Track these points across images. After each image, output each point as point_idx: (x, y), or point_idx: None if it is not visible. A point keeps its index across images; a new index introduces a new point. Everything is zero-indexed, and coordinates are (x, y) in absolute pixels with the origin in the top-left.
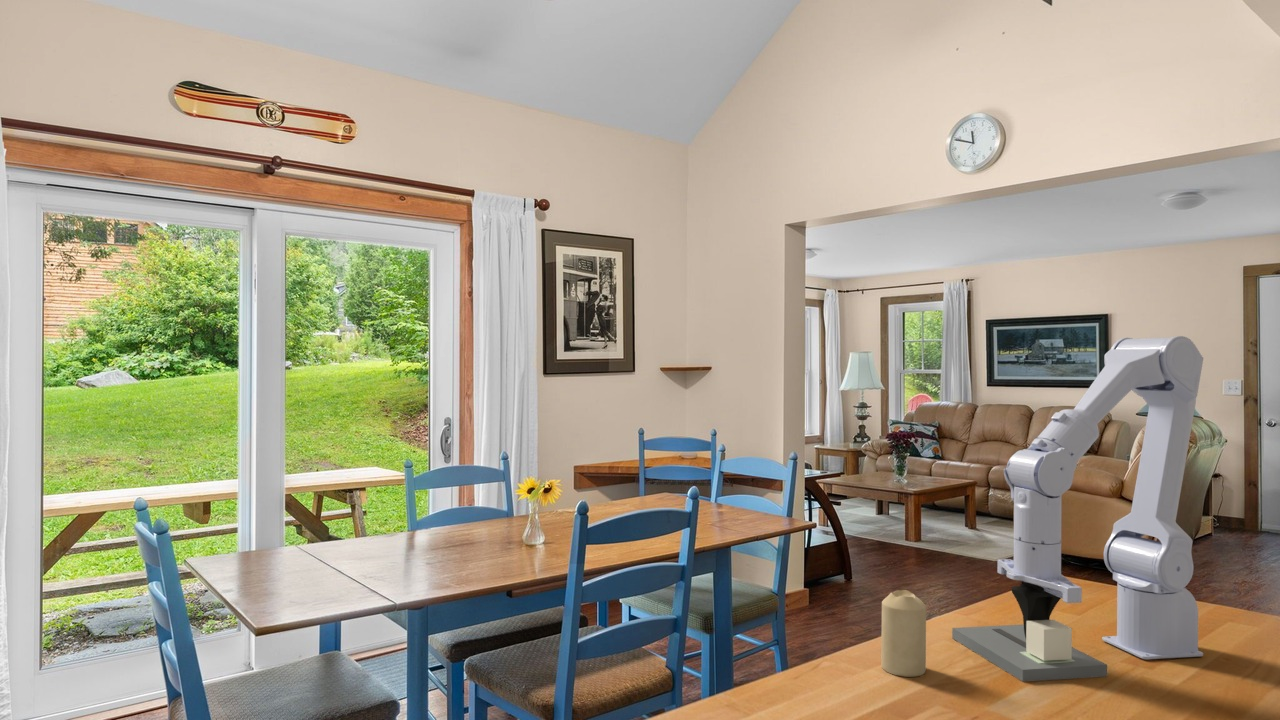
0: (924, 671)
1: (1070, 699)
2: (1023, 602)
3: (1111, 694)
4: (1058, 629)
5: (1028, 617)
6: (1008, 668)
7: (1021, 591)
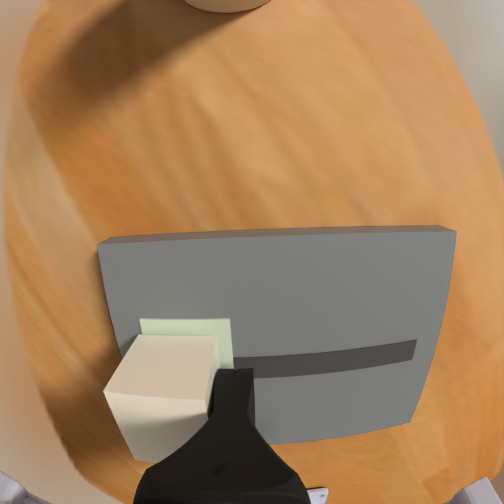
0: (187, 2)
1: (38, 283)
2: (208, 455)
3: (73, 372)
4: (120, 429)
5: (211, 417)
6: (164, 236)
7: (175, 494)
